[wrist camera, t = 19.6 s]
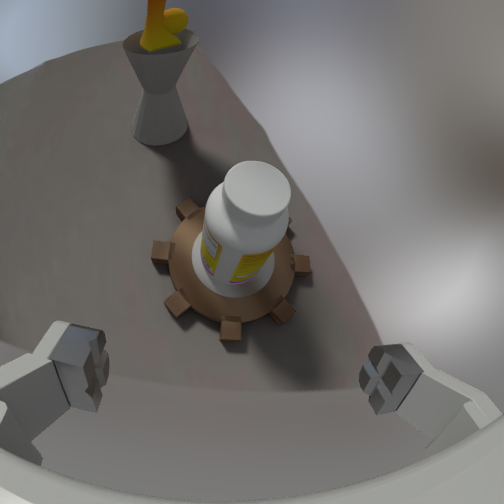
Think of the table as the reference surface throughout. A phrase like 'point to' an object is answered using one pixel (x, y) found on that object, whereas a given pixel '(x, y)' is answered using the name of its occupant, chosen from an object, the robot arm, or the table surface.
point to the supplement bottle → (244, 221)
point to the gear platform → (220, 294)
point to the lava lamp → (160, 73)
